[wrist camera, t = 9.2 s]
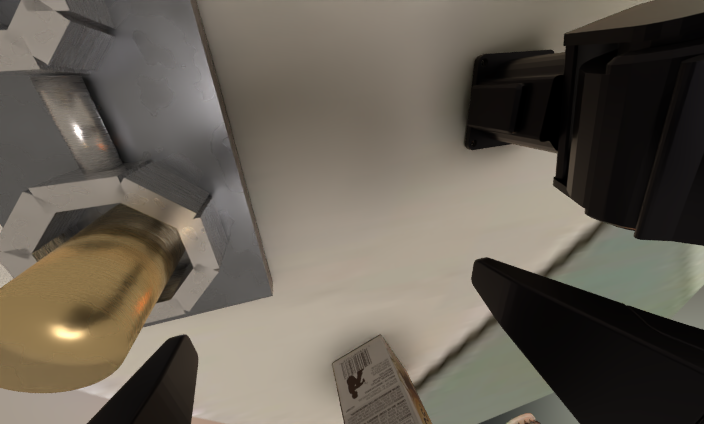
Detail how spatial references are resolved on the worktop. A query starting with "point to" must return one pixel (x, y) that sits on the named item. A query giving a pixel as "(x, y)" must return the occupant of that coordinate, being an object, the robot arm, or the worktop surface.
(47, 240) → the manifold
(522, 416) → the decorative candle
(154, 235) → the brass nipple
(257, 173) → the worktop surface
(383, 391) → the coffee box
